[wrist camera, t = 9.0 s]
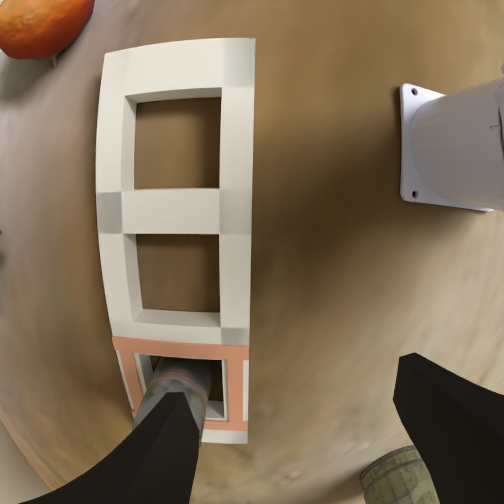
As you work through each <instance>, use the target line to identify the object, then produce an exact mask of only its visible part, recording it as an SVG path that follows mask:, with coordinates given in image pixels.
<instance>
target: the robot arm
mask: <svg viewBox="0 0 504 504" xmlns="http://www.w3.org/2000/svg"><path fill="white" fill-rule="evenodd" d="M501 70H502V72H503V75H504V63H503V65H502V68H501ZM411 90H413V91H414V92H415V95H413V94H412V92H411ZM400 102H401V128H402V162H401V189H400V195H401V197H402V199H403V200H405V201H410V202H419V203H428V204H437V205H445V206H452V207H460V208H467V209H474V210H481V211H487V212H492V211H493V210H498V211H503V212H504V78H501V79H497V80H494V81H490V82H487V83H483V84H480V85H477V86H473V87H470V88H467V89H464V90H460V91H457V92H454V93H451V94H448V95H443V94H440V93H437V92H434V91H431V90H428V89H425V88H421V87H418V86H414V85H411V84H406V83H405V84H403V85H401V86H400ZM413 191H415V194H416V195H415V197H414V198H413V196H412V192H413ZM393 401H394V404H395V407H396V409H397V412H398V415H399V417H400V419H401V422H402V424H403V426H404V428H405V429H406V431H407V433H408V435H409V437H410V438H411V440H412V442H413V444H414V445H415V447H416V449H417V451H418V453H419V454H420V456H421V458H422V460H423V462H424V463H425V465H426V467H427V470H428V472H429V474H430V476H431V479H432V482H433V484H434V487H435V490H436V493H437V496H438V499H439V503H440V504H504V395H502V394H498V393H496V392H493V391H490V390H488V389H486V388H483V387H481V386H479V385H476V384H474V383H472V382H470V381H468V380H466V379H464V378H462V377H460V376H458V375H456V374H454V373H452V372H450V371H448V370H447V369H445V368H443V367H441V366H439V365H437V364H436V363H434V362H432V361H430V360H428V359H427V358H425V357H423V356H421V355H419V354H417V353H415V352H414V353H411V354H408V355H404V356H401V357H399V364H398V371H397V378H396V384H395V390H394V396H393ZM199 433H200V431H199V429H198V426H197V424H196V421H195V419H194V417H193V414H192V412H191V409H190V407H189V404H188V401H187V399H186V396H185V394H184V392H167V393H166V394H165V395H164V396H163V397H162V398H161V399H160V401H159V402H158V403H157V404H156V405H155V406H154V408H153V409H152V410H151V411H150V412H149V413H148V415H147V416H146V417H145V418H144V419H143V420H142V421H141V422H140V424H139V425H138V426H137V427H136V428H135V429H134V430H133V431H132V432H131V433H130V434H129V435H128V436H127V437H126V438H125V439H124V440H123V441H122V442H121V443H120V444H119V445H118V446H117V447H116V448H115V449H114V450H113V451H112V452H111V453H110V454H109V455H107V456H106V457H105V458H104V459H103V460H101V461H100V462H99V463H98V464H96V465H95V466H94V467H92V468H91V469H90V470H88V471H87V472H85V473H84V474H82V475H81V476H79V477H77V478H76V479H74V480H73V481H71V482H69V483H68V484H66V485H64V486H62V487H60V488H58V489H56V490H54V491H52V492H50V493H48V494H46V495H43V496H41V497H38V498H35V499H32V500H29V501H26V502H22V503H19V504H189V500H190V495H191V490H192V485H193V480H194V475H195V470H196V465H197V460H198V452H199Z"/></svg>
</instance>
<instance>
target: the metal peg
mask: <svg viewBox="0 0 504 504" xmlns="http://www.w3.org/2000/svg"><path fill="white" fill-rule="evenodd" d="M212 375H213V366H212V363H211V361H210V359H193V358H179V357H167V356H162V357H161V359H160V361H159V363H158V365H157V368H156V370H155V372H154V374H153V376H152V379H151V381H150V383H149V385H148V388H147V390H146V392H145V394H144V397H143V399H142V401H141V403H140V406H139V408H138V410H137V413H136V415H135V417H134V420H133V422H132V430H134V429H135V428H136V427H137V426H138V425H139V424H140V422H141V421H142V420H143V419H144V418H145V417H146V416H147V415H148V413H149V412H150V411H151V410H152V409H153V408H154V406H155V405H156V404H157V403H158V402H159V401H160V399H161V398H162V397H163V396H164V395H165V394H166V393H167V392H184V394H185V396H186V399H187V401H188V404H189V407H190V409H191V412H192V414H193V417H194V419H195V421H196V424H197V426H198V429H199V431H200V433H199V448H200V446H201V441H202V435H203V429H204V423H205V417H206V411H207V405H208V399H209V393H210V387H211V381H212Z"/></svg>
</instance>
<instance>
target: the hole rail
mask: <svg viewBox="0 0 504 504" xmlns="http://www.w3.org/2000/svg"><path fill="white" fill-rule="evenodd" d="M254 74H255V38H215V39H198V40H186V41H176V42H167V43H160V44H153V45H146V46H140V47H135V48H129V49H124V50H119V51H115V52H110V53H106V54H105V59H104V65H103V72H102V80H101V88H100V97H99V108H98V121H97V139H96V205H97V223H98V237H99V248H100V258H101V267H102V275H103V282H104V289H105V296H106V302H107V308H108V314H109V319H110V324H111V330H112V334H113V336H112V341H113V346H114V350H116V353H117V357H118V361H119V365H120V369H121V373H122V377H123V381H124V384H125V388H126V391H127V395H128V398H129V402H130V405H131V408H132V415H133V418H134V417H135V415H136V413H137V410H138V408H139V406H140V403H141V401H142V399H143V397H144V394H145V392H146V390H147V388H148V385H149V383H150V381H151V379H152V376H153V370H152V364H151V359H150V355H156V356H167V357H179V358H193V359H210V360H222V376H223V397H224V401H210V400H208V405H207V411H206V417H205V423H204V429H203V435H202V441H201V442H211V443H230V444H247V436H248V380H249V326H250V273H251V221H252V171H253V122H254ZM202 97H222V101H221V133H220V188H167V189H138V190H134V144H135V121H136V105H137V103H142V102H150V101H160V100H171V99H184V98H202ZM136 234H219V261H220V313H209V312H186V311H167V310H151V309H143V307H142V299H141V290H140V281H139V271H138V259H137V246H136Z"/></svg>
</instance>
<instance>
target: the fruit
mask: <svg viewBox="0 0 504 504" xmlns="http://www.w3.org/2000/svg"><path fill="white" fill-rule="evenodd" d="M94 2H95V0H3V2H2V3H1V5H0V49H1V50H2V51H3V52H4V53H5V54H6V55H7V56H9V57H11V58H14V59H37V60H42V59H43V60H51V61H52V62H53V65H54V68H55V67H56V68H57V62H56V57H57V55H58V54H59V53H60V52H62V51H63V50H64V49H65V48H66V47H67V46H68V45H69V44H70V43H71V42H72V41H73V40H74V39H76V37H77V36H78V35H79V33H80V32H81V30H82V29H83V27H84V25H85V24H86V22H87V21H88V20H89V18H90V17H91V15H92V13H93V8H94Z"/></svg>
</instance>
